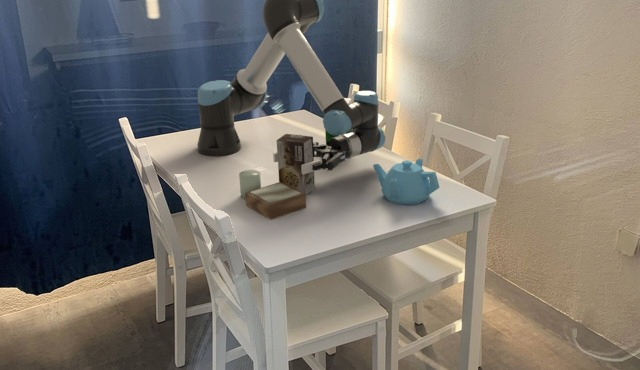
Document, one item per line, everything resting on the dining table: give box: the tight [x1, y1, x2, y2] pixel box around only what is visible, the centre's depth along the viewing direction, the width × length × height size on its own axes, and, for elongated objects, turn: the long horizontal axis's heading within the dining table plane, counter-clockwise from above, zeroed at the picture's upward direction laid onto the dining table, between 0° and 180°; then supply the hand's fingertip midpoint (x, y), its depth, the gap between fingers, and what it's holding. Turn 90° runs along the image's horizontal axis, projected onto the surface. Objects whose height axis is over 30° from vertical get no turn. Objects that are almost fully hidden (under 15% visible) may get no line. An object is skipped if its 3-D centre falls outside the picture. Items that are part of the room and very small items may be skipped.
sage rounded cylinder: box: [238, 169, 262, 201], centre depth 183 cm, size 6×6×7 cm
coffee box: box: [276, 133, 315, 196], centre depth 185 cm, size 9×6×16 cm
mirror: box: [245, 181, 307, 220], centre depth 176 cm, size 12×12×4 cm
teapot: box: [372, 158, 440, 206], centre depth 180 cm, size 15×15×11 cm
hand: (287, 163), depth 183 cm, fingers open, 13 cm apart
